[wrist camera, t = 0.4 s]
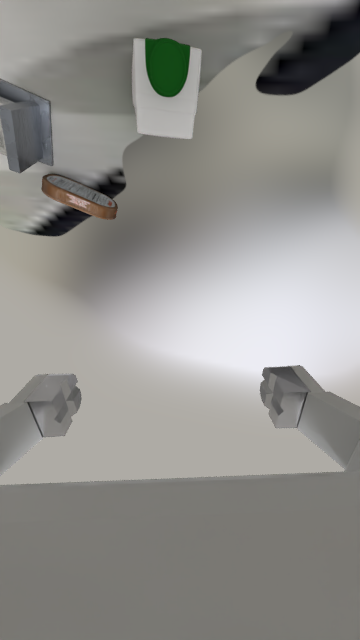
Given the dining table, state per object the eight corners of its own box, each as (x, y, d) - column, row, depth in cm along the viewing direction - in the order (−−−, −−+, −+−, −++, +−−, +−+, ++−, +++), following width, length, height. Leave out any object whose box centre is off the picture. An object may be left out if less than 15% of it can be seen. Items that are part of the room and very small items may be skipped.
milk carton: (190, 55, 35) (211, 39, 22) (184, 128, 42) (197, 149, 29) (136, 47, 34) (124, 24, 21) (139, 123, 41) (131, 142, 28)
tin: (49, 182, 47) (34, 195, 41) (49, 166, 45) (34, 178, 39) (117, 211, 52) (113, 226, 47) (120, 198, 50) (116, 213, 45)
